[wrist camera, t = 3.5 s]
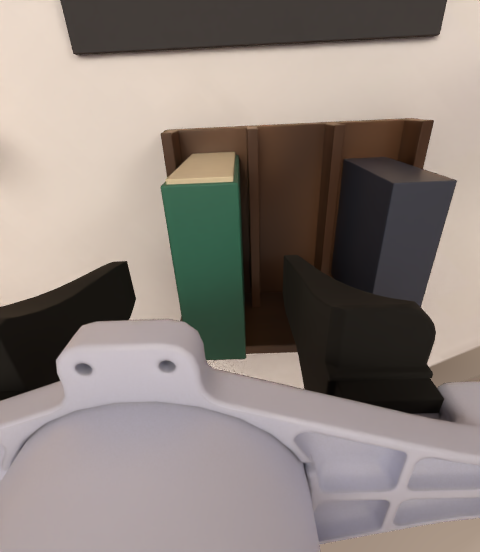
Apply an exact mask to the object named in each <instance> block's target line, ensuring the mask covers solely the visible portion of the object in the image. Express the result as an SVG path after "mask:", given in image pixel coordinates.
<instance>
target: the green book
mask: <svg viewBox="0 0 480 552" xmlns="http://www.w3.org/2000/svg"><path fill="white" fill-rule="evenodd" d="M161 192H162V199H163V205H164V211H165V217H166V223H167V229H168V235H169V242H170V248H171V254H172V260H173V266H174V272H175V278H176V284H177V291H178V297H179V303H180V309H181V315H182V321H183V322H185V323H187V324H188V325H190V326H191V327H193V328H194V329H196V330H197V331H198V333H199V335H200V337H201V339H202V341H203V344H204V352H205V358H206V360H225V359H245V358H246V337H245V298H244V268H243V244H242V220H241V196H240V172H239V155H235V152H219V153H198V154H192V155H191V156H190V157H189V158H188V159H186V160H185V161H184V162H183V163H182V164H181V165H180V166H179V167H178V168H177V169H176V170H175V171H174V172H173V173H172V174H171V175H170V176H169V177H168V178H167V179H166V182H165V183H164V184H163V185H162V186H161Z"/></svg>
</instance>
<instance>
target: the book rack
mask: <svg viewBox="0 0 480 552" xmlns="http://www.w3.org/2000/svg"><path fill="white" fill-rule="evenodd" d="M433 123H434V121H433V120H422V119H414V118H404V119H383V120H362V121H341V122H320V123H298V124H277V125H256V126H235V127H214V128H193V129H171V130H165V131H164V132H163V133H161V139H162V146H163V152H164V159H165V166H166V172H167V178H168V177H169V176H170V175H171V174H172V173H173V172H174V171H175V170H176V169H177V168H178V167H179V166H180V165H181V164H182V163H183V162H184V161H185V160H186V159H188V158H189V157H190V156H191V155H192V154H198V153H219V152H235V155H239V172H240V196H241V220H242V244H243V268H244V298H245V337H246V354H253V353H283V352H298V351H297V347H296V344H295V341H294V337H293V334H292V331H291V328H290V325H289V321H288V318H287V315H286V312H285V306H284V300H283V263H284V255H298V256H300V257H302V258H303V259H304V260H306V261H307V262H308V263H310V264H311V265H313V266H314V267H315V268H317V269H318V270H320V271H321V272H323V273H325V274H326V275H328V276H330V277H331V278H333V276H332V275H331V269H332V260H333V251H334V242H335V233H336V224H337V215H338V206H339V197H340V188H341V179H342V171H343V162H344V159H349V158H371V157H388V158H391V159H394V160H397V161H400V162H403V163H406V164H409V165H412V166H415V167H418V168H421V169H423V166H424V162H425V157H426V153H427V149H428V144H429V140H430V136H431V131H432V127H433ZM333 279H334V278H333ZM180 321H182V316H181V320H180ZM182 322H183V321H182Z"/></svg>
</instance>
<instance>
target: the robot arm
mask: <svg viewBox="0 0 480 552" xmlns="http://www.w3.org/2000/svg"><path fill="white" fill-rule="evenodd" d="M135 300H136V297H135V293H134V289H133V285H132V281H131V276H130V272H129V268H128V264H127V261H122V262H112V263H109V264H106V265H104V266H102V267H100V268H98V269H96V270H94V271H92V272H90V273H88V274H86V275H84V276H82V277H80V278H78V279H76V280H74V281H72V282H70V283H68V284H65V285H63V286H61V287H59V288H57V289H54V290H52V291H49V292H47V293H44V294H42V295H39V296H36V297H33V298H30V299H27V300H23V301H20V302H17V303H14V304H10V305H6V306H2V307H0V552H321V550H320V545H319V544H325V543H330V542H336V541H341V540H346V539H352V538H357V537H362V536H367V535H373V534H379V533H384V532H390V531H395V530H400V529H406V528H411V527H417V526H423V525H429V524H435V523H441V522H447V521H457V520H467V519H476V518H480V381H476V382H449V383H444V384H442V385H440V386H438V388H436V386H435V385H434V384H433V382H432V381H431V379H430V378H432V375H433V373H432V371H431V370H430V368H429V367H428V365H427V362H428V359H429V356H430V353H431V350H432V347H433V344H434V340H435V334H436V331H435V326H434V323H433V322H432V320H431V319H430V317H429V316H428V315H427V314H426V313H425V312H424V311H423V309H422V308H421V307H420V306H419V305H418V304H417V303H416V302H415V301H408V300H401V299H395V298H389V297H384V296H380V295H375V294H372V293H368V292H365V291H362V290H359V289H356V288H353V287H351V286H348V285H346V284H344V283H341V282H339V281H337V280H335V279H333V278H331V277H330V276H328V275H326V274H325V273H323V272H321V271H320V270H318V269H317V268H315V267H314V266H313V265H311V264H310V263H308V262H307V261H306V260H304V259H303V258H302V257H300V256H298V255H284V263H283V300H284V306H285V312H286V315H287V318H288V321H289V325H290V328H291V331H292V334H293V337H294V341H295V344H296V347H297V351H298V355H299V361H300V366H301V371H302V377H303V383H304V389H301V388H296V387H292V386H288V385H283V384H279V383H274V382H270V381H266V380H261V379H257V378H253V377H248V376H244V375H240V374H235V373H231V372H226V371H222V370H218V369H214V368H212V367H211V366H209V365H208V363H207V361H206V358H205V352H204V344H203V341H202V339H201V337H200V335H199V333H198V331H197V330H196V329H194V328H193V327H191V326H190V325H188V324H187V323H185V322H182V321H177V320H171V319H152V320H129V318H130V316H131V313H132V310H133V307H134V304H135Z"/></svg>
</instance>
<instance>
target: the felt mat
mask: <svg viewBox="0 0 480 552" xmlns="http://www.w3.org/2000/svg"><path fill="white" fill-rule="evenodd" d="M60 1H61V5H62V9H63V13H64V17H65V21H66V25H67V29H68V33H69V37H70V41H71V45H72V50H73V53H74V54H76V55H81V54H100V53H119V52H138V51H158V50H177V49H196V48H215V47H234V46H253V45H272V44H292V43H311V42H330V41H349V40H368V39H387V38H406V37H426V36H437V35H439V34H440V30H441V26H442V21H443V16H444V12H445V7H446V2H447V0H60Z"/></svg>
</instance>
